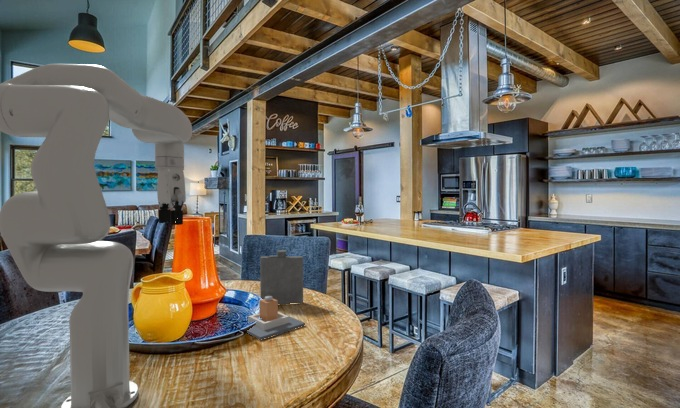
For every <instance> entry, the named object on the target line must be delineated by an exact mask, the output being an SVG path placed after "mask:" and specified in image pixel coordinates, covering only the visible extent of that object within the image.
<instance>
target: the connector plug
mask: <svg viewBox="0 0 680 408" xmlns="http://www.w3.org/2000/svg"><path fill="white" fill-rule="evenodd" d="M258 304H259V313H260V318H262V321H264V322H267V321H270V320H274V319H277V318H278V312H279V308H278V306H279V305H278V300H276V299H273V297H272V296H266V297H265V299H263V300H260V299H259V303H258Z"/></svg>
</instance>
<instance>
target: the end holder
mask: <svg viewBox="0 0 680 408" xmlns="http://www.w3.org/2000/svg"><path fill="white" fill-rule="evenodd" d="M259 316H260V312H259V313H255V314H251V315H248V317H247V318H248V322H254V321H258V322H257V323H256V325H255V326H253V327H252V328H250V329H249V330H247V333H248V334H247V333H246V334H247V335H249V334H250V335H252V336H254V337H256V338H257V339H256V338H255V339H256V340H258V339H259V340H261V339H264V338H267V339H269V338H268V337H270V338H272V337H271V336H273V335H276V336H278V335H277V334H279V335H282V334H285V333H284V332H286V333H288V332H287V331H289V330H292V329H295V328H298V327H301V326H304V325H305V326H306V322H304V321H302V320H299V319H297V318H294V317H291V316H290V315H287V314H284V313H282V312H280V311H278V318H277V319H274V320H270V321H267V322H264V321H262V320H260V319H258V318H257V317H259ZM305 326H304V327H305ZM301 328H302V327H301ZM298 329H299V328H298ZM295 330H296V329H295ZM292 331H293V330H292ZM289 332H290V331H289ZM281 333H282V334H281ZM250 335H249V336H250ZM252 336H251V337H252ZM254 337H253V338H254ZM273 337H274V336H273ZM259 340H258V341H259ZM264 340H265V339H264ZM261 341H262V340H261Z"/></svg>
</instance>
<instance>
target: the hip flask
mask: <svg viewBox="0 0 680 408" xmlns="http://www.w3.org/2000/svg"><path fill="white" fill-rule="evenodd" d="M276 254H277V255H264V256H263V255H262V256H260V257H259V258H260V261H259V265H260V268H259V269H260V275H259V276H260V286H259V287H260V288H259V289H260V290H259V291H260V297H261V298H262V299H265V297H266V296H272V297H273V299H276V300H278V304H290V303H302V302H303V303H304V256H303V255H302V256H301V255H297V256H296V255H294V256H292V255H291V256H289V255H288V256H286V255H287V250H286V249H285V250H284V249H281V250H276Z"/></svg>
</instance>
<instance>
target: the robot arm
mask: <svg viewBox="0 0 680 408" xmlns="http://www.w3.org/2000/svg"><path fill="white" fill-rule="evenodd" d="M109 121H111V122H113V123H114V124H115V125H118V126H120V127H122V128H125V129H126V128H127V129H131V132H132V134H133V135H134V138H136V139H137V140H138V141H140V142H143V143H144V144H154V162H155V163H154V168H155V170H158V172H157V182H156V183H157V188H156V189H157V195H156V196H157V201H158V207H157V209H158V223H159V224H168V223H170V225H171V226H181V225H183V224H184V212H183V211H184V203H186V199H187V198H186V196H187V195H186V182H185V174H184V170H185V143H188V142H189V141H190V140H191V139H192V136H193V126H192V123H191V120H190V119H189V117H188V116H187V115H186V113H184V111H182V109H180V108H178V106H175V105H173V104H170V103H168V102H165V101H161V100H159V99H156V98H154V97H152V96H148V95H144V94H141V93H140V92H139V91H137V90H136V89H134V87H132V86H131V85H130V84H128V83H127V82H126V81H125V80H124V79H122V78H121V77H120V76H119V75H118V74H116V73H115V72H114V71H113V70H111V69H110V68H107V67H105V66H102V65H99V64H88V63H87V64H85V63H84V64H83V63H80V64H78V63H47V64H44V65H40V66H37V67H35V68H32V69H29V70H28V71H26V72H22V73H21V74H18V75H16V76H15V77H12V78H10V79H7V80H5V81H3V82H1V83H0V132H1V133H3V134H6V135H8V136H13V137H19V138H44V140H43V142H42V143H41V145H40V146H39V148H38V150H37V151H36V153H35V155H34V157H33V158H32V161H31V165H30V174H31V178H32V181H33V184H34V187H35V189H36V191H24V192H19V193H17V194H14V195H12V196H10V197H9V198H8V199H7V200H6V201H5V202H4V203H3V205H2V207H1V209H0V235H1V237H2V240H3V242H4V244H5V246H6V247H7V249H8V251H9V253H10V256H11V257H12V259H13V260H14V262H15V265H16V266H17V269H18V270H19V272H20V274H21V276H22V278H23V279H24V281H25V282H26V284H28V285H29V287H30V288H32V289H34V290H36V291H38V292H39V291H40V292H49V293H50V292H51V293H57V292H58V293H59V292H63V293H65V292H76V293H77V292H78V293H82V295H81V297H80V299H79V300H78V302H77V303H76V304H75V306H74V307H73V309H72V310H71V312H70V315H69V321H68V322H69V323H68V324H69V325H68V327H69V352H70V353H69V359H70V360H69V363H70V395H69V396H68V397H67V398H66V399H65V400H64V401H63V402H62V404H61V406H60V408H127V407H128V406H129V405H131V404H132V403H133V402H134V401H135V400H136V399H137V397H139V386H138V384H137V383H136V382H133V380H130V330H129V329H130V327H129V326H130V325H129V301H130V300H129V297H130V296H129V295H130V288H131V287H130V286H131V281H132V280H131V279H132V276H133V270H134V256H133V255H134V254H133V252H132V251H131V249H130V248H129V247H127V246H126V244H123V243H121V242H118V241H112V240H111V241H108V240H103V239H104V238H106V237H107V235H108V234H109V233H110V230H111V225H112V224H111V216H110V214H109V210H108V206H107V203H106V201H105V198H104V194H103V191H102V188H101V185H100V183H99V179H98V176H97V172H96V167H95V158H96V153H97V150H98V146H99V144H100V142H101V139H102V137H103V134H104V133H105V130H106V128H107V127H108V123H109ZM170 208H171V209H170ZM177 218H178V219H177ZM175 221H176V223H175Z"/></svg>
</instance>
